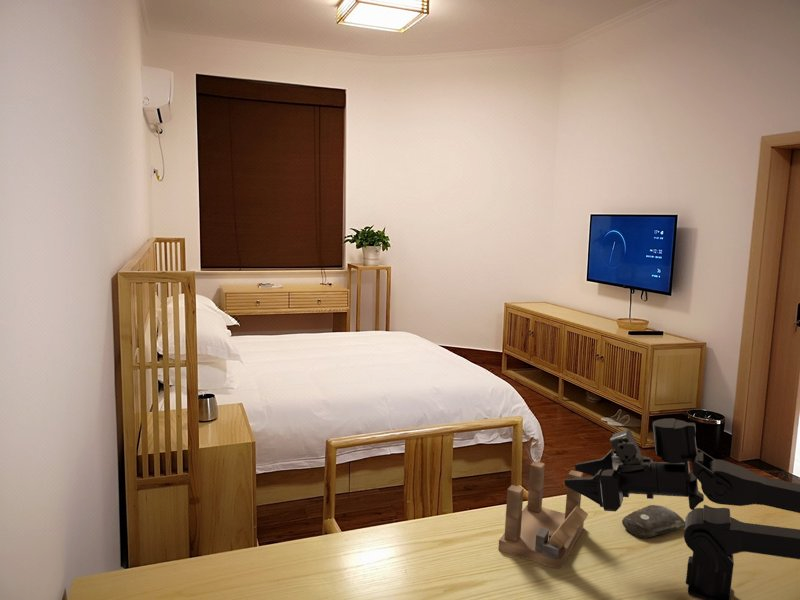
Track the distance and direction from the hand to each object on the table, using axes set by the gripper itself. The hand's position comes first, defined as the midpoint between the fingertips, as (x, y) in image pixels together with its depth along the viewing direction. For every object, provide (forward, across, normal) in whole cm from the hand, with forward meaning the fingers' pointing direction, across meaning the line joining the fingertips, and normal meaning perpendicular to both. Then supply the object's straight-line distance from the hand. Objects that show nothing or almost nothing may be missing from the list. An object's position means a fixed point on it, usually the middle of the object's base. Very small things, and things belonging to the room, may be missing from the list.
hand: (570, 474), depth 113 cm
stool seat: (+8, -3, +14) cm, 16 cm away
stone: (-11, -20, +18) cm, 29 cm away
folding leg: (+3, +4, +12) cm, 13 cm away
